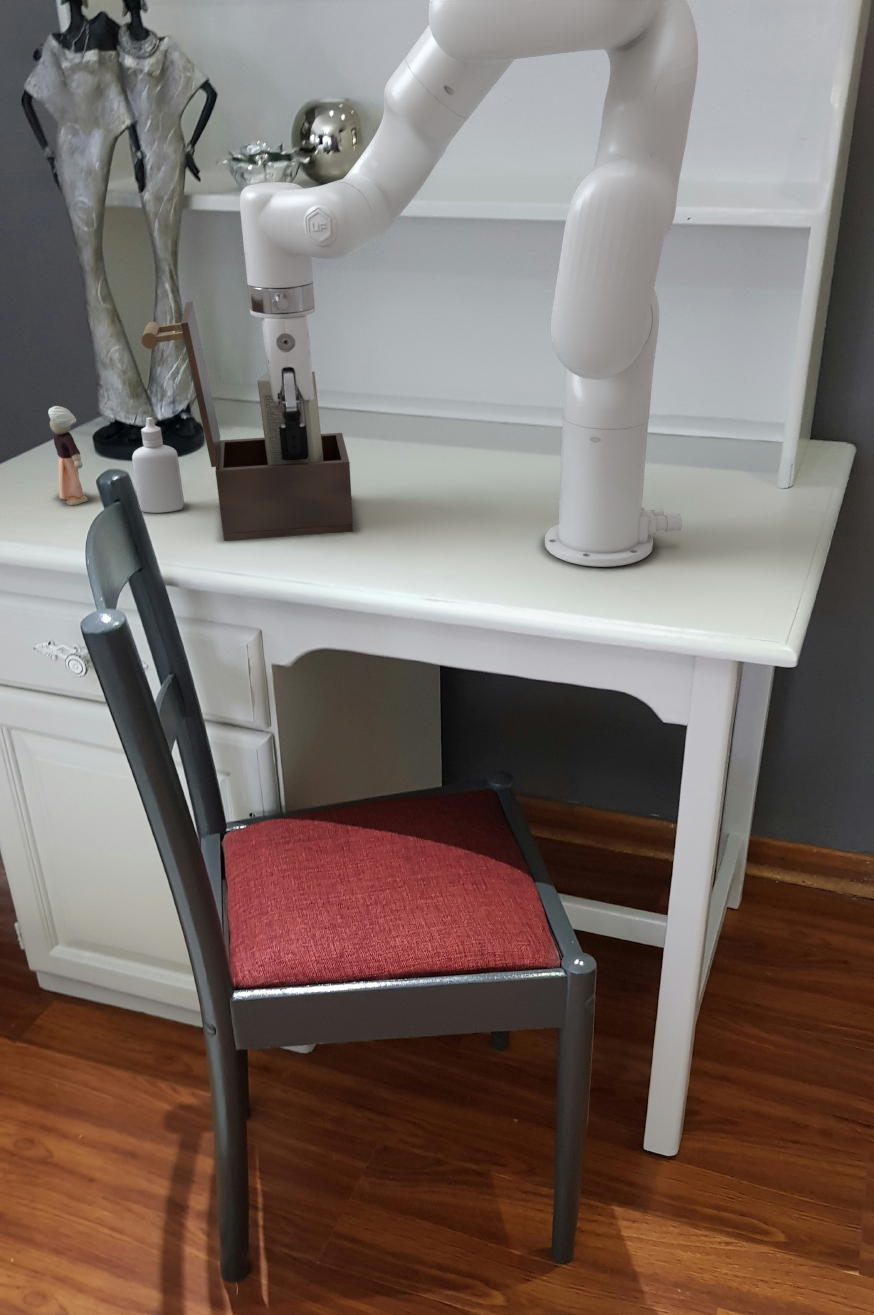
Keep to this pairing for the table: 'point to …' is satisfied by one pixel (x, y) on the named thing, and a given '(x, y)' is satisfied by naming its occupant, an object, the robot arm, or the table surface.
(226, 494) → the chest
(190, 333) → the lid
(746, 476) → the table surface
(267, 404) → the cosmetic box
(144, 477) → the eye dropper bottle
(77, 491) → the grandmother figurine
